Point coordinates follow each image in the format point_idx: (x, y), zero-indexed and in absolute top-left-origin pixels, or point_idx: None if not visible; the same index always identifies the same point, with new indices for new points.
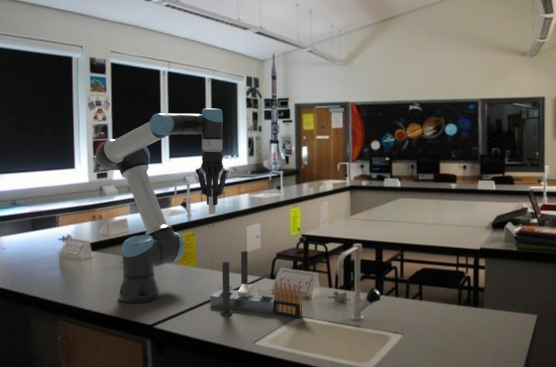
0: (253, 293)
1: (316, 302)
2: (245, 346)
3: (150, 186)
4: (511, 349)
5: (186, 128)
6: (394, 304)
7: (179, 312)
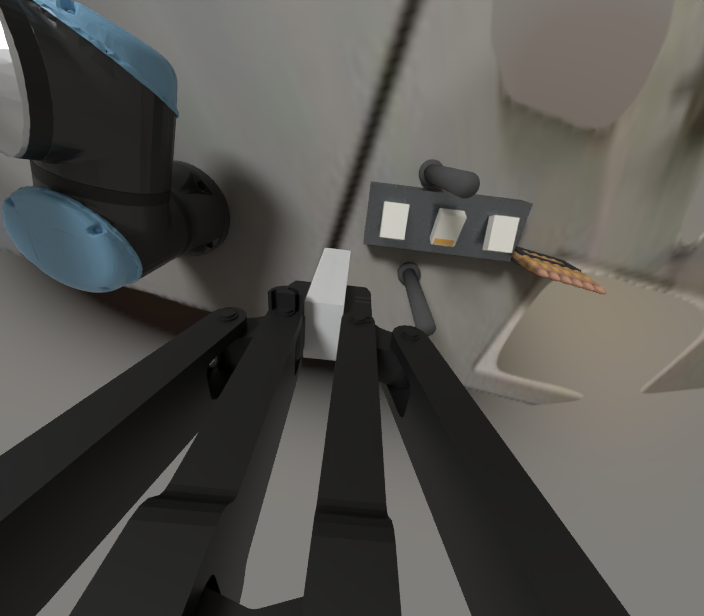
0: (463, 204)
1: (622, 152)
2: (461, 379)
3: None
4: None
5: None
6: None
7: None
